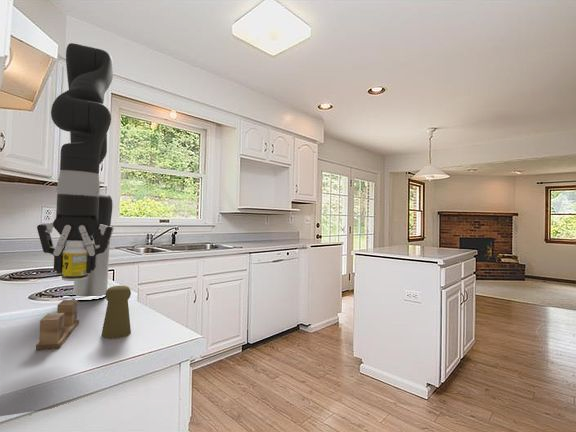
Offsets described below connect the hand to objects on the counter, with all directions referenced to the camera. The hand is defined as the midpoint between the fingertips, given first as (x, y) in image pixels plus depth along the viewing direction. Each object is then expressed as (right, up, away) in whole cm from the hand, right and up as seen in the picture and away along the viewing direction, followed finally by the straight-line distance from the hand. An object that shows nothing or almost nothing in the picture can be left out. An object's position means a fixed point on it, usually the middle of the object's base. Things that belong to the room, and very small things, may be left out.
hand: (75, 272), depth 68 cm
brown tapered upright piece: (+6, -15, +5) cm, 17 cm away
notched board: (-5, -15, +3) cm, 16 cm away
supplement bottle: (0, -2, 0) cm, 2 cm away
